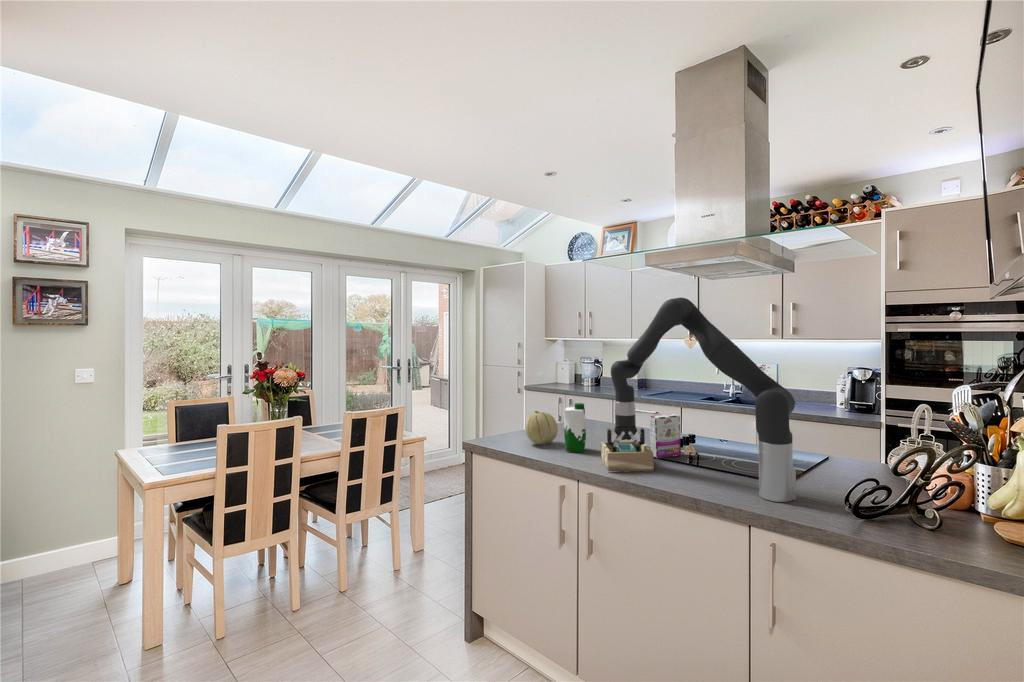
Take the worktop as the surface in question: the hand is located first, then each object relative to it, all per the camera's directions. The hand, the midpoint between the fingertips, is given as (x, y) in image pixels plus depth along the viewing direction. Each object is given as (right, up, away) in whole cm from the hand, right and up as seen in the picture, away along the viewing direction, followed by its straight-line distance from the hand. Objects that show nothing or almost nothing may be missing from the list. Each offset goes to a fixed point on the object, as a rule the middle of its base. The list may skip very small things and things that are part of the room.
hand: (626, 455), depth 196 cm
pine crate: (0, -4, 0) cm, 4 cm away
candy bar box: (+18, -3, +12) cm, 22 cm away
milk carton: (-16, -3, +25) cm, 30 cm away
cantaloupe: (-30, -3, +37) cm, 48 cm away
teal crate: (0, -3, 0) cm, 3 cm away
